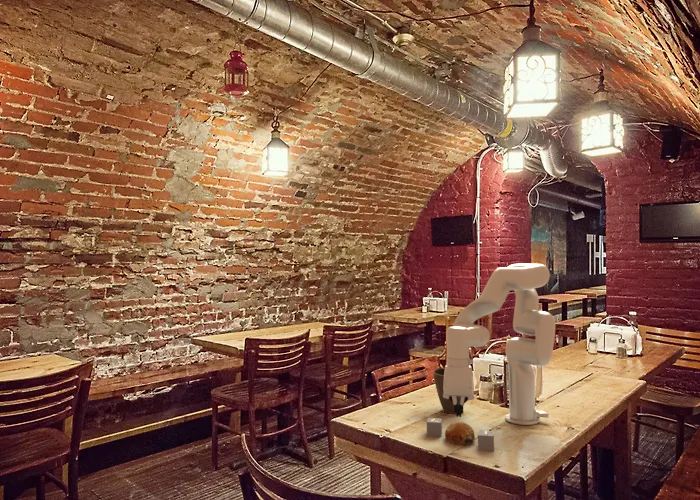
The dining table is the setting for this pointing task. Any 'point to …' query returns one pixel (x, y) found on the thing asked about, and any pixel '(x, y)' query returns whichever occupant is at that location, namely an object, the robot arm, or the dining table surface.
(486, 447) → the numbered block 1
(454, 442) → the bread roll
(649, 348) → the dining table surface
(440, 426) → the numbered block 7
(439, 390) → the plant pot
